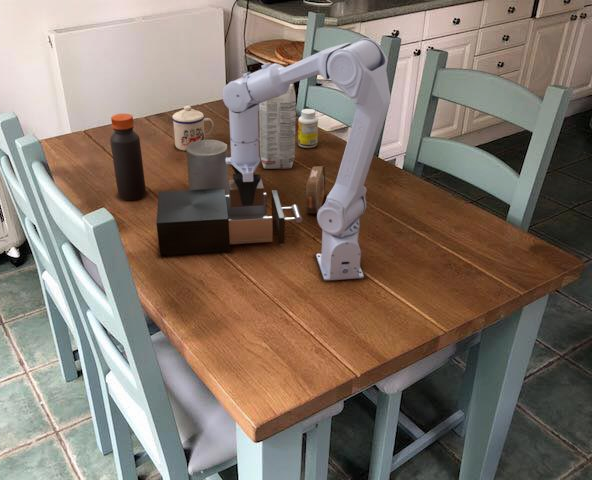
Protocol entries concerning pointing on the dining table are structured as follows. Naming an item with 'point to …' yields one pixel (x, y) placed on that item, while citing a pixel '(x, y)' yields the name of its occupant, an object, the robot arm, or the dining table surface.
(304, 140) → the supplement bottle
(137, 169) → the vinegar
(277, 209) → the drawer
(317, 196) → the tin
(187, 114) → the teacup with lid
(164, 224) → the black box
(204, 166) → the pillar candle
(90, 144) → the dining table surface
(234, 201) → the packet
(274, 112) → the juice carton
